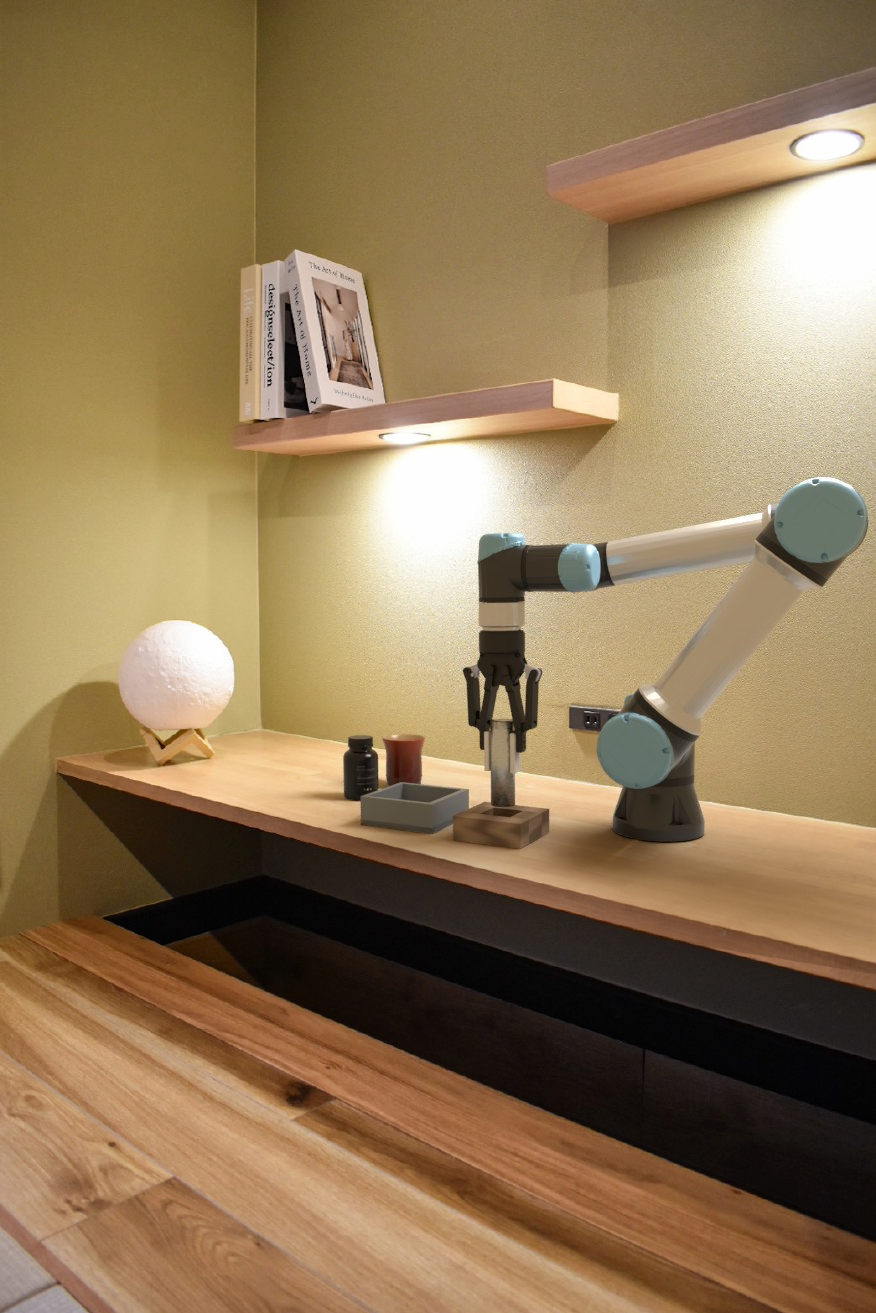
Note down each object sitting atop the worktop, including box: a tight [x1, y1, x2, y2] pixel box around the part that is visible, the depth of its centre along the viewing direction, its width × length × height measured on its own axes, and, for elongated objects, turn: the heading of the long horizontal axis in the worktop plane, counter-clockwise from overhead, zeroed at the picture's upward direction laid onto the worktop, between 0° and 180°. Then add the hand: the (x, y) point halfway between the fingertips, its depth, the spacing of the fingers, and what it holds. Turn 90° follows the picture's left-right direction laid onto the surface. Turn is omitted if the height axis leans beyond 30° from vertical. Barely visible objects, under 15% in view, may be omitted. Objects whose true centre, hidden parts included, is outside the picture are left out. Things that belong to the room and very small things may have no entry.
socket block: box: [452, 801, 550, 850], centre depth 168 cm, size 12×12×4 cm
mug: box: [381, 733, 426, 787], centre depth 210 cm, size 12×9×10 cm
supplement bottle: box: [342, 734, 380, 802], centre depth 198 cm, size 7×7×12 cm
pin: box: [490, 718, 516, 807], centre depth 167 cm, size 4×4×14 cm
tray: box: [360, 782, 470, 835], centre depth 179 cm, size 14×14×5 cm
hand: (502, 770), depth 167 cm, fingers closed on pin, 4 cm apart
